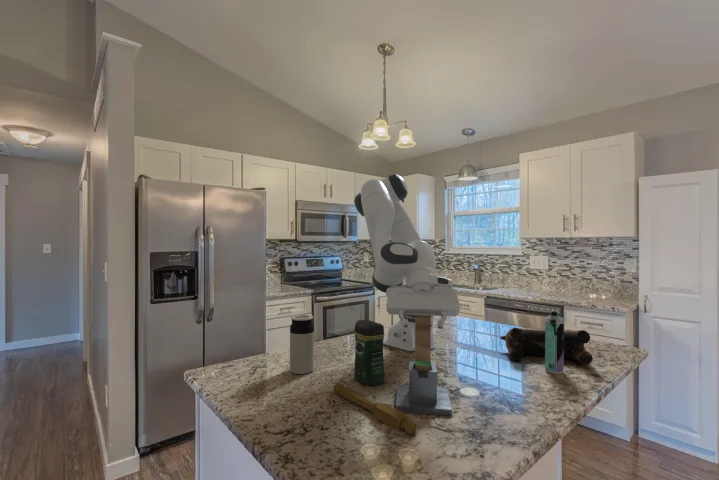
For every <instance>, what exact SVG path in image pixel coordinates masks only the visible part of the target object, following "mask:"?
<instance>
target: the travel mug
mask: <svg viewBox="0 0 719 480" xmlns="http://www.w3.org/2000/svg"><path fill="white" fill-rule="evenodd" d="M290 319H291V324H290V327H289V372H290V373H292V374H295V375H306V374H307V375H308V374H310V373H312V372H314V370H315V325H314V323H313V320H314V316H313V315H310V314H295V315H293V316H292V315H291V316H290Z"/></svg>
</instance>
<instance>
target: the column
mask: <svg viewBox="0 0 719 480" xmlns="http://www.w3.org/2000/svg"><path fill="white" fill-rule="evenodd" d="M431 350H432V349H431V318H430V316H423V315H415V350H414V362H415V369H420V370H430V366H431V363H432V362H431V360H432V359H431V355H432V354H431Z"/></svg>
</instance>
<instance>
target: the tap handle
mask: <svg viewBox="0 0 719 480" xmlns="http://www.w3.org/2000/svg"><path fill="white" fill-rule="evenodd" d="M332 390H333V393H334V394H336V395H338V396H341V398H344V399H346V400H347V401H348V402H349V401H350V402H351V403H353V404H356V405H357V406H360V407H362V408H364V409H366V410H368V411H370V412H371V414H372V415H373V416H374V418H375V419H376V420H378V421H379V422H382V423H384V424H385V425H387V426H389V427H391V429H394V430H395V431H397V432H398V431H404V432H405V433H406V434H408V435H411V436H412V435H413V434H415V433H416V431H417V428H418V427H417V423H416V422H414V421H413V420H409V419H408V416H407V415H408V414H406V413H405V412H401V411H399V410H397V409H395V407H393V406H390V405H389V404H387V403H378V402H373V401H372V400H370V399H368V398H367V397H365V396H363V395H361V394H360V393H359V392H356V391H355V390H353V389H351V388H349V387H347V386H345V385H344V384H342V383H339V382H338V383H335V384H334V386H333V389H332Z"/></svg>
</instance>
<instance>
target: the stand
mask: <svg viewBox="0 0 719 480" xmlns="http://www.w3.org/2000/svg"><path fill="white" fill-rule="evenodd" d="M437 369H438V368H437V365H436V362H431V366H430V370H420V369H415V361H408V370H409V371H408V384H397V387H396V397H395V407H394V408H395V409H397V410H399V411H401V412H403V413H405V414H406V413H407V414H408V413H409V414H420V415H421V414H422V415H424V414H425V415H437V416H450V417H452V415H453V412H452V411H453V410H452V405H451V401H450V398H449V393H448V389H447V388H448V387H447V386H438V370H437Z"/></svg>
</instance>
